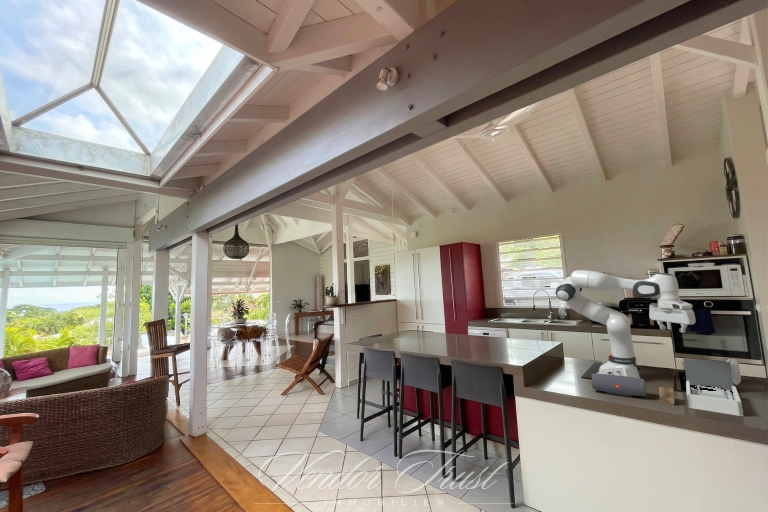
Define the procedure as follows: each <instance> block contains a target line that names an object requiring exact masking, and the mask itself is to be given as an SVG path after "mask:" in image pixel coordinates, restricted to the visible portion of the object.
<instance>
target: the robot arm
mask: <svg viewBox="0 0 768 512" xmlns="http://www.w3.org/2000/svg"><path fill="white" fill-rule="evenodd" d="M583 289H587V290H595V291H604V290H605V291H606V290H610V289H623V290H629V291H633V293H634V294H635V295H636V296H638V297H639V298H645V299H647V298H649V299H650V298H653V297H656V299H657V300H656V301H657V302H652V303H650V304H649V312H648V313H649V319H650V320H651V321H656V322H657V324H658V325H659V329H660V330H663V331H664V330H665V331H666V329H667V326H666V325H665V324H663V323H664V322H665V323H666V322H667V323H674V324H680V326H681V327H680V328H678V330H679V333H683V334H685V333H686V329H687V327H688V325H695V323H696V321H697V320H696V316H695V312H694V310H693V304H691V303H688V302H686V301H683V300H681V298H680V294H679V291H680V289H679V283H678V279H677V277H676V276H675V275H674V274H671V273H666V272H656V273H655V274H654V275H652V276H650V277H648V278H642V279H634V278H633V279H632V278H626V277H625V278H624V277H619V276H615V275H611V274H607V273H603V272H599V271H595V270H587V269H586V270H584V269H580V270H579V269H577V270H573V272H571V273H570V274H569V275H567V276H566V277H565V278H564V279H563V280H561V281H560V283H559V285H558V286H557V287H556V290H555V295H556V297H557V299H559V301H560V300H561V301H563V302H565V304H566V306H567V307H569V308H570V309H572V310H573V311H575V312H576V313H578V314H580V315H582V316H584V317H585V318H587V319H590V321H591V320H592V321H593V322H597V323H600V324H602V325H605V326H606V331H607V335H608V340H609V345H610V352H611V353H608V355H607V359H608V361H606V362H605V363H602V364H601V365H600V367H599V368H598V371H597V372H596V373H595V374H609V375H619V376H627V377H634V378H640V379H642V378H641V376H640V373H639V370H638V367H637V366H638V362H637V358H636V357H637V356H636V355H635V350H634V349H635V348H634V343H633V338H632V333H631V319H630V317H629V316H628V315H626V314H624V313H622V312H620V311H618V310H615V309H612V308H610V307H607V306H605V305H603V304H601V303H599V302H597V301H594V300H592V299H590V298H588V297H586V296H585V295H582V294H581V292H582V290H583Z"/></svg>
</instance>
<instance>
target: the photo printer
mask: <svg viewBox="0 0 768 512" xmlns="http://www.w3.org/2000/svg"><path fill="white" fill-rule="evenodd" d="M725 362H730V365H731V371H732V377H733V383H734V384H735V385H734V386H737V385H739V384H740V383H741V382H742V378H741V376H742V375H741V372H740V365H739V362H738V360H736V359H735V358H728V359H726V360H725Z"/></svg>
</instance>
